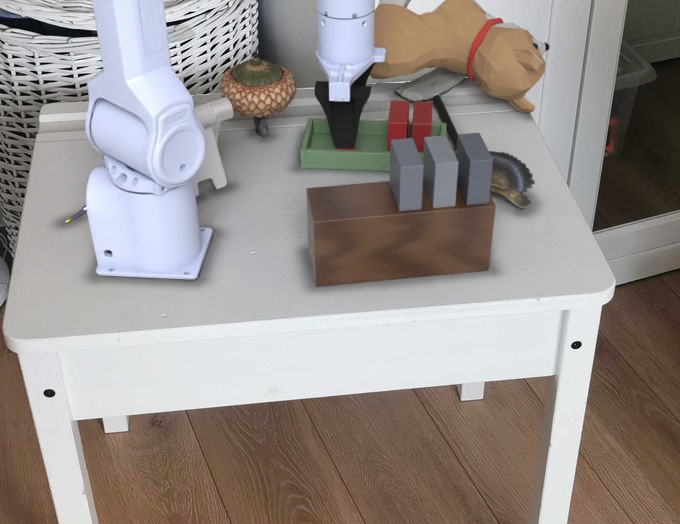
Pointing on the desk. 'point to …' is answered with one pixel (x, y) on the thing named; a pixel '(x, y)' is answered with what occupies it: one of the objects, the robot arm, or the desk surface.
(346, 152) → the green book tray
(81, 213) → the pen
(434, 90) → the stone tool
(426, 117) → the rack books
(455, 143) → the pen
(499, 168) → the eagle figurine
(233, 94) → the acorn
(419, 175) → the grey books
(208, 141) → the tablet stand
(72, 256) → the desk surface
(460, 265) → the wood grain box
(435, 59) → the toy
